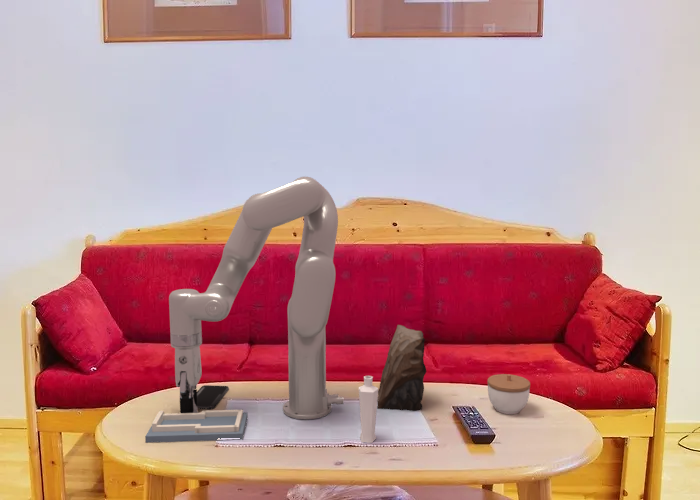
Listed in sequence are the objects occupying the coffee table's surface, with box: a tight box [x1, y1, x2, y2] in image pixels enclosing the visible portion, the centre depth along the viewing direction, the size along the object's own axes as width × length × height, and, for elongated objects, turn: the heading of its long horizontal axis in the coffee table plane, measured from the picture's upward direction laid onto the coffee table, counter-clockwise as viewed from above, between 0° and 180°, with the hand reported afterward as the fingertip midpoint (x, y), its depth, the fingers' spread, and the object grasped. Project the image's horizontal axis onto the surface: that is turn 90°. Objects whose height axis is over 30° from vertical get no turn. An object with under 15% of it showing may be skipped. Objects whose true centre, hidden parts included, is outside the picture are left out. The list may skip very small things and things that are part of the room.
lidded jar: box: [487, 373, 531, 415], centre depth 157 cm, size 11×11×9 cm
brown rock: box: [377, 324, 427, 412], centre depth 160 cm, size 13×13×20 cm
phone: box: [196, 384, 229, 411], centre depth 165 cm, size 8×1×15 cm
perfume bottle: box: [358, 375, 379, 444], centre depth 139 cm, size 5×4×15 cm
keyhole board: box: [144, 409, 249, 443], centre depth 145 cm, size 22×12×4 cm, turn 94°
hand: (188, 407), depth 154 cm, fingers closed on rook chess piece, 4 cm apart
